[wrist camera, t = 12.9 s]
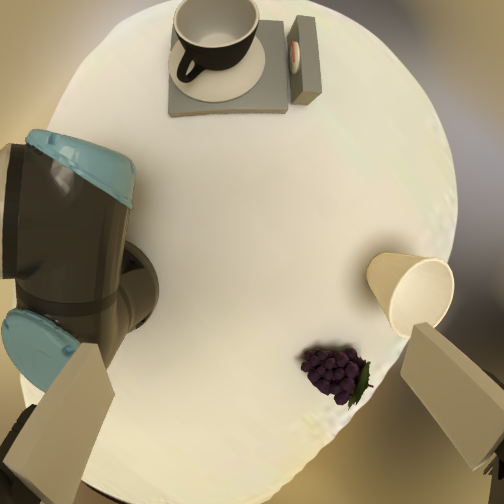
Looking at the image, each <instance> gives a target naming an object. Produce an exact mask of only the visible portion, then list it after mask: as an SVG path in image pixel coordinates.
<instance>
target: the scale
mask: <svg viewBox="0 0 504 504" xmlns="http://www.w3.org/2000/svg"><path fill="white" fill-rule="evenodd" d="M287 38H288V52H289V69H290V87H291V104H295V105H308V104H309V103H311V102H312V101H313V100H314V99H315V98H316V97H318V96H319V95H320V94H321V93H322V86H321V73H320V61H319V50H318V41H317V32H316V24H315V17H309V16H301V15H297V17H296V19H295V21H294V23H293V25H292V27H291V30H290V32H289V34H288V36H287ZM184 53H185V49H184V48H183V46H182V44H181V43H180V41H179V39H178V37H177V34H176V32H175V29H174V24H173V28H172V40H171V53H170V56H169V72H170V73H169V105H168V114H169V115H170V116H171V117H179V116H191V115H206V114H227V113H281V114H285V113H286V112H287V111H288V92H287V72H286V54H285V39H284V25H283V21H272V20H259V23H258V27H257V31H256V34H255V37H254V39H253V42H252V44H251V46H250V48H249V50H248V52H247V54H246V55H245V56H244V58H243V59H242V60H241V61H240V62H239V63H238V64H237V65H235V66H234V67H232V68H229V69H226V70H222V71H212V70H204V71H203V72H201V73H200V74H199V75H198V76H197V77H196V78H195V79H194V80H193V81H191V82H189V83H183V82H181V81H179V80H178V78H177V68H178V65H179V63H180V61H181V59H182V57H183V55H184ZM194 65H195V63H194V61H193V60H192V62H191V63H190V65H189V67H188V70H187V73H186V75H187V74H188V73H189V72H190V71H191V70H192V69H193V67H194Z"/></svg>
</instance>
